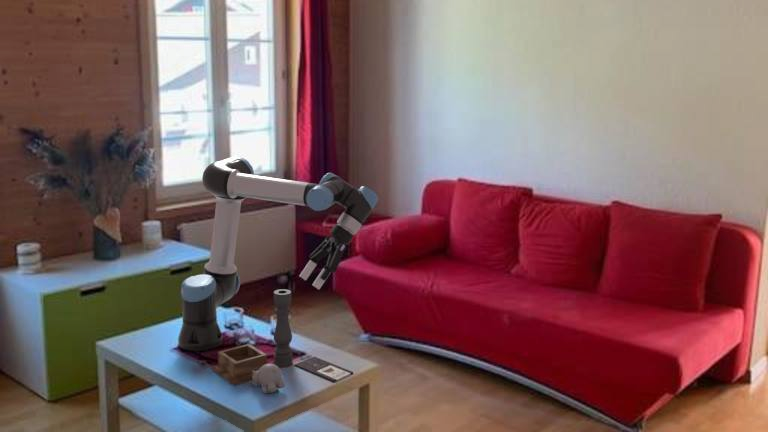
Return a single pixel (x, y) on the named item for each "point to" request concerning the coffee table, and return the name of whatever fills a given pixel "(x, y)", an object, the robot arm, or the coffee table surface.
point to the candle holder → (282, 329)
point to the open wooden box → (239, 363)
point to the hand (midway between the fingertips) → (308, 282)
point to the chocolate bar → (324, 369)
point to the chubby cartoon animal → (268, 378)
